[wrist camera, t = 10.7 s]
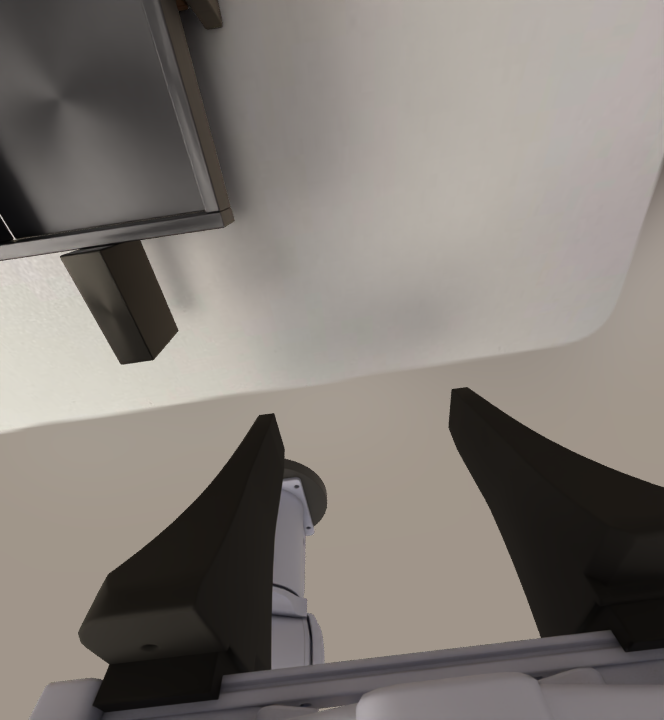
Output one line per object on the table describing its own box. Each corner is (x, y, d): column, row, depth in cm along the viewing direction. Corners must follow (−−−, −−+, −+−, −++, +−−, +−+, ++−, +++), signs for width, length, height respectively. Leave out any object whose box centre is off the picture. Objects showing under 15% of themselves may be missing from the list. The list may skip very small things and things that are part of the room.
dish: (262, 314, 18) (251, 347, 14) (77, 341, 18) (24, 378, 15) (154, -98, 10) (79, -227, 7) (-164, -44, 10) (-380, -143, 7)
